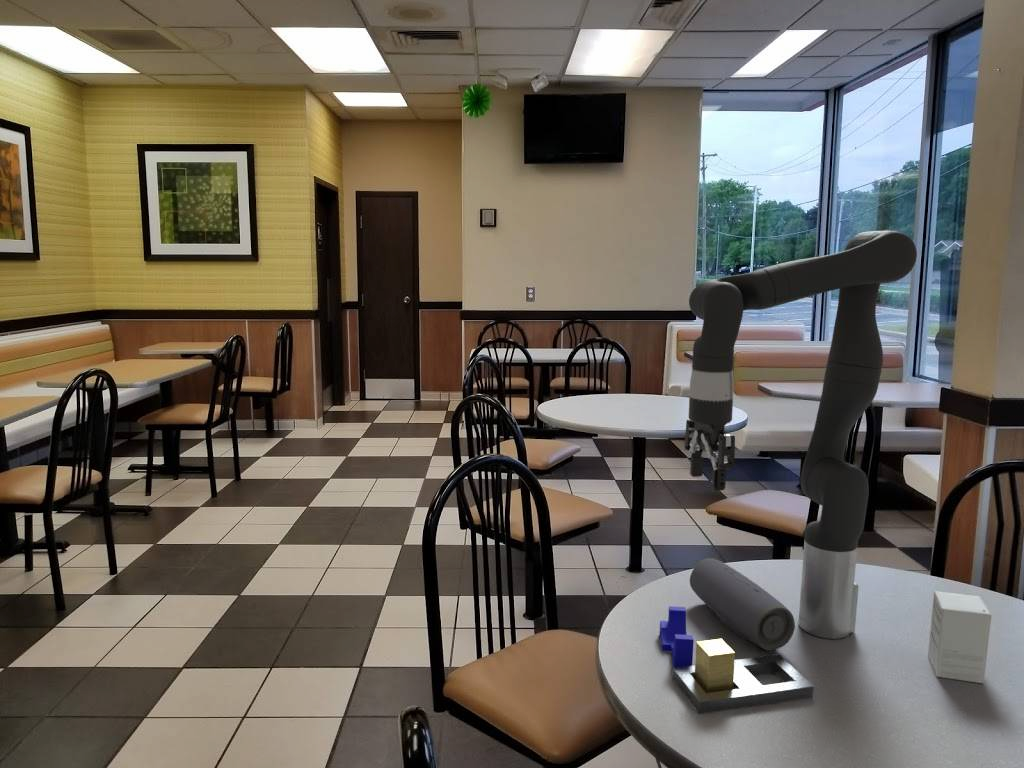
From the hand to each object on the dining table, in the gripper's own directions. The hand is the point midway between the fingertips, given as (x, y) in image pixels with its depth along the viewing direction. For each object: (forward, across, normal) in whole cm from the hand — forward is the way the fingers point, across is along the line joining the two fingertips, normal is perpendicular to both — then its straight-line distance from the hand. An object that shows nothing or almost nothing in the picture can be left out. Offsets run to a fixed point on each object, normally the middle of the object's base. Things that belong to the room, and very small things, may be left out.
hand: (707, 482), depth 136 cm
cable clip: (+30, -4, +7) cm, 31 cm away
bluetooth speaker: (+30, +2, -9) cm, 32 cm away
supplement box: (+30, -20, -38) cm, 53 cm away
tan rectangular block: (+30, -17, +6) cm, 35 cm away
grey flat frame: (+30, -17, +1) cm, 35 cm away
